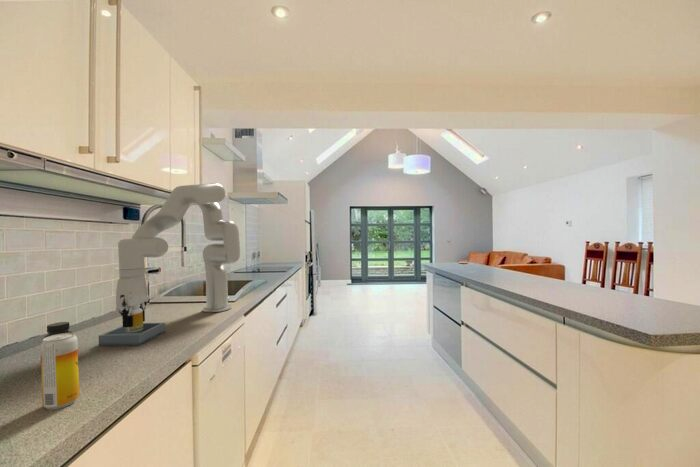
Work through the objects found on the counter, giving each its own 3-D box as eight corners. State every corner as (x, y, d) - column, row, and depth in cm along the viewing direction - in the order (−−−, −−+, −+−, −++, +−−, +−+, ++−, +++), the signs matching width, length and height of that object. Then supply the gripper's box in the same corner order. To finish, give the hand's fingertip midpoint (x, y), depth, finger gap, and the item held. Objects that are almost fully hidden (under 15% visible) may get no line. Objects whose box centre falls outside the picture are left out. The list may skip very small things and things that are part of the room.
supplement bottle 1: (75, 365, 91) (73, 323, 91) (42, 373, 87) (40, 329, 87) (75, 358, 97) (73, 319, 96) (43, 365, 92) (42, 323, 92)
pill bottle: (85, 395, 75) (83, 331, 74) (67, 409, 69) (64, 340, 68) (56, 397, 74) (54, 333, 73) (34, 412, 68) (32, 342, 67)
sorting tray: (129, 332, 121) (128, 323, 121) (165, 331, 120) (165, 322, 120) (98, 345, 107) (98, 335, 107) (139, 345, 106) (139, 335, 106)
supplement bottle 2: (147, 328, 116) (146, 301, 116) (135, 333, 111) (134, 305, 110) (133, 328, 117) (132, 301, 116) (121, 333, 111) (120, 305, 111)
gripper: (138, 270, 122) (140, 317, 122) (102, 277, 105) (104, 332, 105) (157, 270, 122) (159, 317, 122) (124, 277, 104) (126, 332, 105)
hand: (134, 323), depth 114 cm, fingers closed on supplement bottle 2, 5 cm apart
